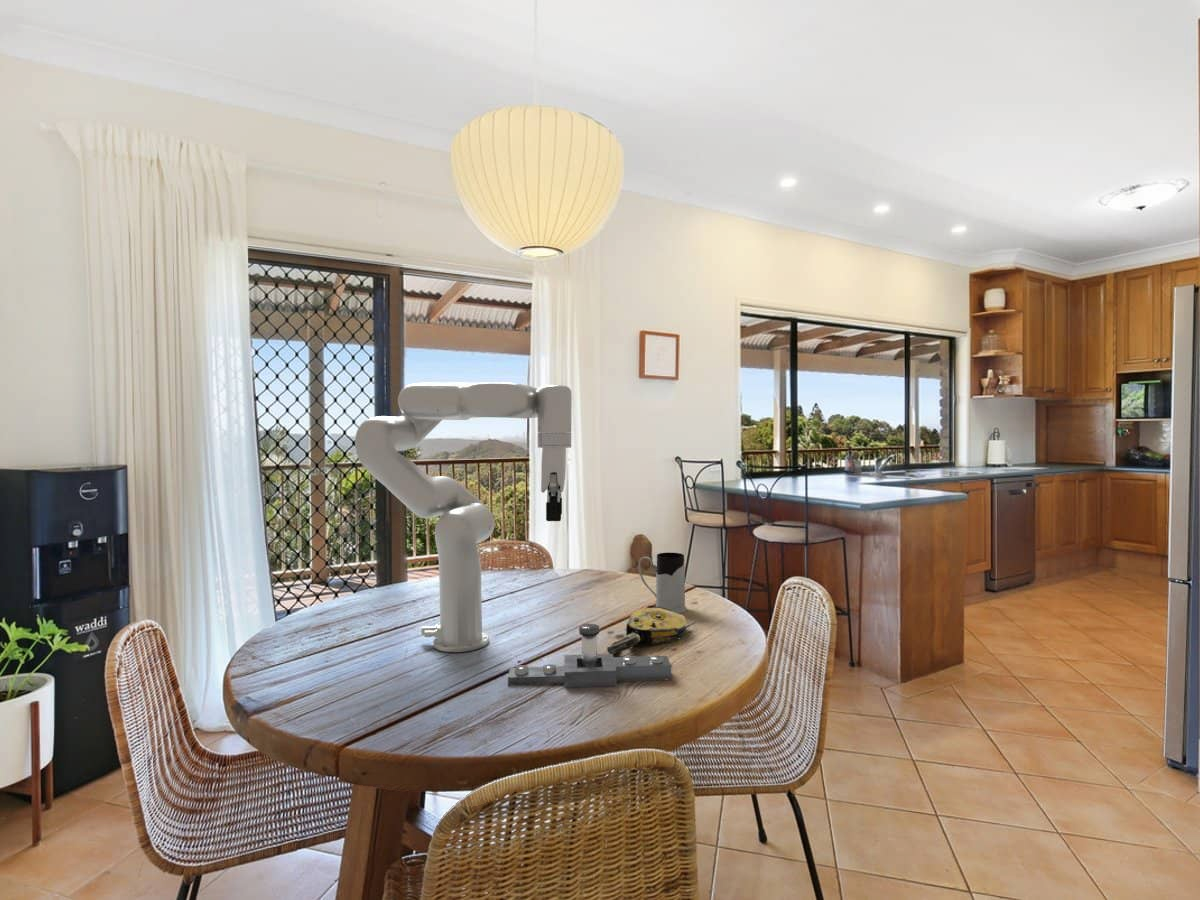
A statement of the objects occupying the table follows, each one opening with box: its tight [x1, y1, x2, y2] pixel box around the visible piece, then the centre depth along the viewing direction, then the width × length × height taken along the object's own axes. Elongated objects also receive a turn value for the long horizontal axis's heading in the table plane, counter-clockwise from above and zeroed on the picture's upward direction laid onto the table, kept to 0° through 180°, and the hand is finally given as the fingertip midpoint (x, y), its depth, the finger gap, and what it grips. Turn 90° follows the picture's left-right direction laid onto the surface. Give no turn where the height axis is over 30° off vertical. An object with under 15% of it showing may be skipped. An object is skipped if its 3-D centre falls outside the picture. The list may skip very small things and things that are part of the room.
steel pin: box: [578, 623, 600, 668], centre depth 122 cm, size 4×4×10 cm
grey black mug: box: [638, 552, 687, 614], centre depth 170 cm, size 9×14×15 cm, turn 58°
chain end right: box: [563, 653, 672, 683], centre depth 123 cm, size 21×9×4 cm, turn 93°
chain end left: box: [507, 663, 617, 689], centre depth 122 cm, size 21×9×2 cm, turn 93°
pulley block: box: [606, 605, 696, 656], centre depth 145 cm, size 14×6×30 cm
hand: (554, 517), depth 137 cm, fingers open, 9 cm apart
